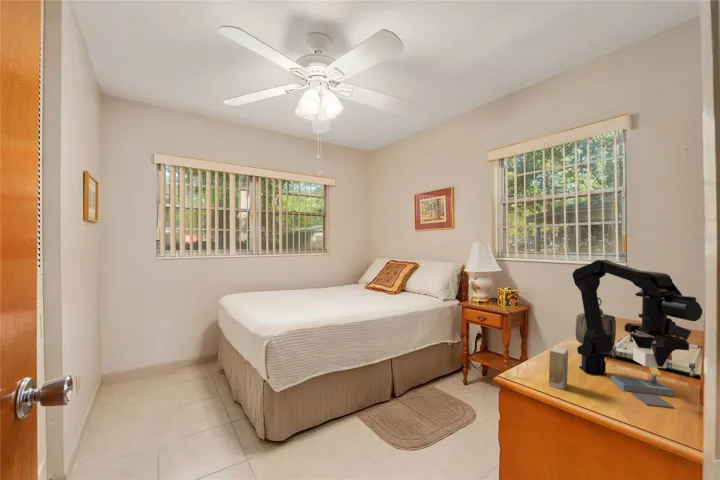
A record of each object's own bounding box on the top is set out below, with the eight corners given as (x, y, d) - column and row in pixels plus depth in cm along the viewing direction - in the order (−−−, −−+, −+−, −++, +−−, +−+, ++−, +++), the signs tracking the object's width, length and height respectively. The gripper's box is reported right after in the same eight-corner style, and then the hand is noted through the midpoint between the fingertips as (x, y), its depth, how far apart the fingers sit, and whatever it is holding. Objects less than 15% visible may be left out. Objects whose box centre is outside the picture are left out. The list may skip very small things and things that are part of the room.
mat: (646, 405, 93) (647, 403, 93) (631, 394, 100) (631, 392, 100) (674, 408, 92) (674, 407, 92) (656, 396, 99) (657, 395, 99)
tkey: (661, 390, 99) (661, 375, 99) (653, 388, 100) (653, 373, 100) (655, 380, 106) (656, 366, 106) (648, 379, 107) (648, 365, 107)
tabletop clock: (595, 358, 131) (597, 300, 131) (573, 351, 139) (575, 296, 140) (615, 354, 137) (616, 298, 137) (592, 347, 145) (594, 294, 145)
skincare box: (553, 380, 109) (554, 345, 109) (567, 384, 106) (568, 349, 106) (548, 385, 104) (549, 349, 105) (563, 390, 101) (564, 353, 101)
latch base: (623, 390, 103) (623, 384, 103) (610, 381, 109) (611, 375, 109) (673, 396, 100) (673, 389, 100) (657, 386, 107) (657, 379, 107)
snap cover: (645, 366, 94) (645, 353, 94) (633, 359, 100) (633, 347, 100) (666, 368, 93) (666, 355, 93) (652, 361, 99) (653, 349, 99)
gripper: (713, 322, 86) (711, 378, 85) (662, 308, 104) (660, 354, 104) (665, 319, 88) (664, 374, 88) (624, 306, 106) (622, 351, 106)
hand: (653, 362), depth 96 cm, fingers closed on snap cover, 5 cm apart
